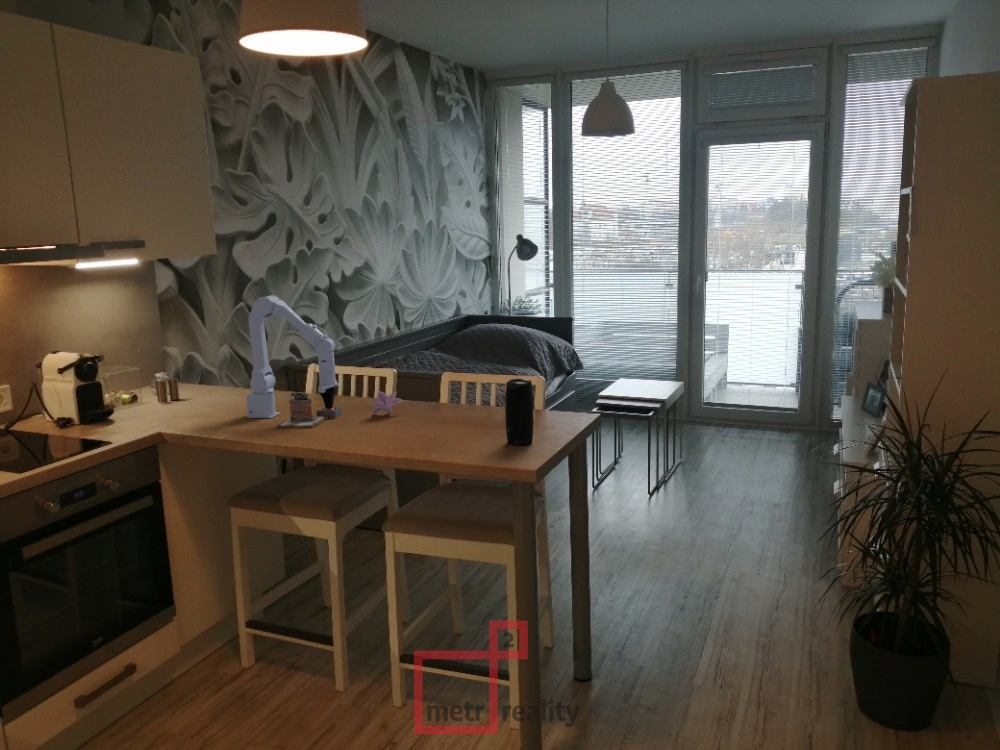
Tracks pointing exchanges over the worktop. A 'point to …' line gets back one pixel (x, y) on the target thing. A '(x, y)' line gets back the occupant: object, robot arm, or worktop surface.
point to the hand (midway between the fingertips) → (329, 408)
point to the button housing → (330, 412)
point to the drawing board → (302, 424)
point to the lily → (385, 402)
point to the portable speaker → (519, 411)
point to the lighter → (300, 407)
